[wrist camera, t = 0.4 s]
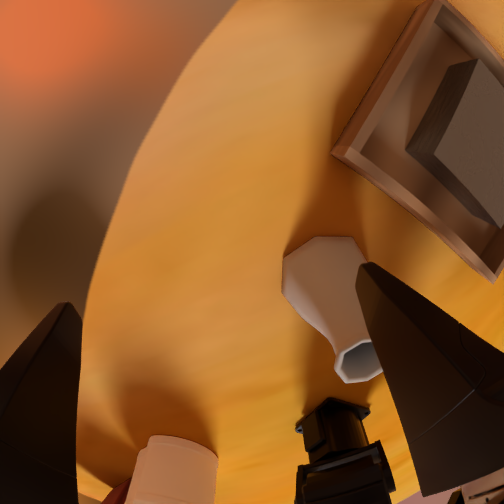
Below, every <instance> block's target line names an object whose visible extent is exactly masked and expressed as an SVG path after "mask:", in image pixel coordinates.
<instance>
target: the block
mask: <svg viewBox="0 0 504 504" xmlns="http://www.w3.org/2000/svg"><path fill="white" fill-rule="evenodd" d="M405 151H406V152H407V153H408V154H409V155H411V156H412V157H413V158H414V159H415V160H416V161H418V162H419V163H420V164H421V165H422V166H423V167H424V168H425V169H426V170H427V171H429V172H430V173H431V174H432V175H433V176H434V177H435V178H436V179H437V180H438V181H439V182H440V183H441V184H442V185H443V186H444V187H445V188H446V189H447V190H448V191H449V192H450V193H451V194H452V195H453V196H454V197H455V198H456V199H457V200H458V201H459V202H460V203H461V204H462V205H463V206H464V207H465V208H466V209H467V210H468V211H469V213H470V214H471V215H473V216H475V217H477V218H479V219H481V220H483V221H485V222H487V223H490V224H492V225H494V226H496V227H498V228H500V229H501V228H502V226H503V224H504V88H503V86H502V85H501V84H500V83H499V81H498V80H497V79H496V78H495V76H494V75H493V74H492V73H491V72H490V70H489V69H488V68H487V67H486V66H485V64H484V63H483V62H482V61H481V60H480V59H479V58H477V59H473V60H469V61H465V62H461V63H457V64H454V65H450V66H449V67H448V69H447V71H446V73H445V75H444V77H443V79H442V81H441V83H440V85H439V87H438V89H437V91H436V93H435V95H434V97H433V99H432V101H431V103H430V105H429V107H428V109H427V110H426V112H425V114H424V116H423V118H422V120H421V122H420V123H419V125H418V127H417V129H416V131H415V133H414V134H413V136H412V138H411V140H410V141H409V143H408V145H407V147H406V148H405Z"/></svg>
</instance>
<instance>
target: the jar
mask: <svg viewBox="0 0 504 504" xmlns="http://www.w3.org/2000/svg"><path fill="white" fill-rule="evenodd" d="M217 468H218V458H217V456H216V455H215V454H214V453H213V452H212V451H210V450H209V449H208V448H206V447H204V446H202V445H200V444H198V443H195V442H193V441H190V440H187V439H183V438H179V437H173V436H165V435H153V436H151V437H150V438H149V441H148V444H147V447H146V448H144V449H141V450H140V452H139V453H138V457H137V462H136V466H135V469H134V473H133V476H132V480H131V483H130V487H129V491H128V494H127V498H126V501H125V503H124V504H214V498H215V486H216V475H217Z"/></svg>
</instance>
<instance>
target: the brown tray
mask: <svg viewBox="0 0 504 504" xmlns="http://www.w3.org/2000/svg"><path fill="white" fill-rule="evenodd" d="M477 58H479V59H480V60H481V61H482V62H483V63H484V64H485V66H486V67H487V68H488V69H489V70H490V72H491V73H492V74H493V75H494V76H495V78H496V79H497V80H498V81H499V83H500V84H501V85H502V86H503V88H504V60H503V59H502V58H501V56H500V55H499V54H498V53H497V52H496V50H495V49H494V48H493V47H492V46H491V45H490V43H489V42H488V41H487V40H486V39H485V38H484V37H483V36H482V35H481V33H480V32H479V31H478V30H477V29H476V28H475V27H474V26H473V25H472V24H471V23H470V22H469V21H468V20H467V19H466V18H465V17H464V16H463V15H462V14H461V13H460V12H459V11H458V10H457V9H455V8H454V7H453V6H452V5H451V4H450V3H449V2H448V1H447V0H426V1H425V2H423V3H422V4H420V5H419V6H417V8H416V9H415V11H414V13H413V15H412V16H411V18H410V20H409V22H408V23H407V25H406V27H405V28H404V30H403V32H402V34H401V35H400V37H399V39H398V40H397V42H396V44H395V45H394V47H393V49H392V51H391V52H390V54H389V56H388V57H387V59H386V61H385V62H384V64H383V66H382V67H381V69H380V71H379V72H378V74H377V76H376V77H375V79H374V81H373V82H372V84H371V86H370V88H369V89H368V91H367V93H366V94H365V96H364V97H363V99H362V101H361V102H360V104H359V106H358V107H357V109H356V111H355V112H354V114H353V116H352V117H351V119H350V121H349V122H348V124H347V126H346V127H345V129H344V131H343V132H342V134H341V135H340V137H339V139H338V140H337V142H336V144H335V145H334V147H333V149H332V150H331V152H330V153H329V154H331V155H332V156H334V157H335V158H337V159H338V160H340V161H341V162H343V163H344V164H346V165H347V166H349V167H350V168H352V169H353V170H354V171H356V172H357V173H359V174H360V175H361V176H363V177H364V178H366V179H367V180H368V181H370V182H371V183H372V184H374V185H375V186H376V187H378V188H379V189H380V190H382V191H383V192H384V193H386V194H387V195H388V196H390V197H391V198H392V199H394V200H395V201H396V202H397V203H399V204H400V205H401V206H402V207H404V208H405V209H406V210H407V211H409V212H410V213H411V214H412V215H413V216H415V217H416V218H417V219H418V220H419V221H421V222H422V223H423V224H424V225H425V226H427V227H428V228H429V229H430V230H431V231H432V232H433V233H435V234H436V235H437V236H438V237H439V238H440V239H441V240H442V241H444V242H445V243H446V244H447V245H448V246H449V247H450V248H451V249H452V250H453V251H454V252H456V253H457V254H458V255H459V256H460V257H461V258H462V259H463V260H464V261H465V262H466V263H467V264H468V265H469V266H470V267H471V268H472V269H474V270H475V271H476V272H478V273H479V274H480V275H482V276H483V277H484V278H486V279H487V280H488V281H489V282H491V283H492V284H494V282H495V281H496V279H497V278H498V276H499V274H500V273H501V271H502V269H503V268H504V224H503V226H502V228H501V229H500V228H498V227H496V226H494V225H492V224H490V223H487V222H485V221H483V220H481V219H479V218H477V217H475V216H473V215H471V214H470V213H469V211H468V210H467V209H466V208H465V207H464V206H463V205H462V204H461V203H460V202H459V201H458V200H457V199H456V198H455V197H454V196H453V195H452V194H451V193H450V192H449V191H448V190H447V189H446V188H445V187H444V186H443V185H442V184H441V183H440V182H439V181H438V180H437V179H436V178H435V177H434V176H433V175H432V174H431V173H430V172H429V171H427V170H426V169H425V168H424V167H423V166H422V165H421V164H420V163H419V162H418V161H416V160H415V159H414V158H413V157H412V156H411V155H409V154H408V153H407V152H406V151H405V148H406V147H407V145H408V143H409V141H410V140H411V138H412V136H413V134H414V133H415V131H416V129H417V127H418V125H419V123H420V122H421V120H422V118H423V116H424V114H425V112H426V110H427V109H428V107H429V105H430V103H431V101H432V99H433V97H434V95H435V93H436V91H437V89H438V87H439V85H440V83H441V81H442V79H443V77H444V75H445V73H446V71H447V69H448V67H449V66H450V65H454V64H457V63H461V62H465V61H469V60H473V59H477Z"/></svg>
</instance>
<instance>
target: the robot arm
mask: <svg viewBox="0 0 504 504" xmlns="http://www.w3.org/2000/svg"><path fill="white" fill-rule="evenodd" d="M355 290H356V293H357V297H358V300H359V303H360V307H361V310H362V314H363V317H364V321H365V324H366V327H367V331H368V334H369V336H370V339H371V342H372V344H373V347H374V349H375V352H376V354H377V357H378V359H379V362H380V365H381V367H382V370H383V373H384V375H385V378H386V381H387V383H388V386H389V389H390V392H391V395H392V397H393V400H394V403H395V406H396V409H397V412H398V415H399V418H400V421H401V424H402V427H403V430H404V433H405V436H406V439H407V443H408V444H409V445H408V446H409V450H410V453H411V456H412V460H413V463H414V467H415V470H416V474H417V477H418V481H419V485H420V489H421V493H422V496H423V497H426V496H429V495H433V494H437V493H440V492H443V491H446V490H449V489H452V488H455V487H458V486H460V489H458V490H456V491H455V492H453V493H452V495H451V497H450V499H449V501H448V504H504V353H503V352H501V351H500V350H498V349H497V348H495V347H494V346H492V345H491V344H489V343H488V342H486V341H485V340H483V339H482V338H480V337H479V336H477V335H476V334H475V333H473V332H472V331H470V330H469V329H468V328H466V327H465V326H464V325H462V324H461V323H459V322H458V321H457V320H456V319H454V318H453V317H451V316H450V315H449V314H447V313H446V312H445V311H443V310H442V309H440V308H439V307H438V306H436V305H435V304H434V303H432V302H431V301H429V300H428V299H426V298H425V297H424V296H422V295H421V294H419V293H418V292H417V291H415V290H414V289H412V288H411V287H409V286H408V285H406V284H405V283H404V282H402V281H401V280H399V279H398V278H396V277H395V276H393V275H392V274H390V273H389V272H387V271H386V270H384V269H383V268H381V267H380V266H378V265H377V264H375V263H373V262H367V263H362V264H360V265H359V268H358V272H357V277H356V282H355ZM82 327H83V324H82V319H81V317H80V315H79V314H78V312H77V311H76V309H75V308H74V306H73V304H72V303H71V302H69V301H67V302H60V303H58V304H57V305H56V306H55V307H54V308H53V309H52V310H51V311H50V312H49V313H48V314H47V316H46V317H45V318H44V319H43V320H42V321H41V322H40V323H39V324H38V325H37V327H36V328H35V329H34V330H33V331H32V332H31V333H30V335H29V336H28V337H27V338H26V339H25V340H24V341H23V343H22V344H21V345H20V346H19V347H18V349H17V350H16V351H15V352H14V353H13V355H12V356H11V357H10V358H9V359H8V361H7V362H6V363H5V364H4V366H3V367H2V368H1V369H0V504H79V503H78V489H77V478H76V477H77V473H76V424H77V404H78V391H79V380H80V370H81V347H82ZM369 414H370V409H369V408H366V407H362V406H359V405H355V404H352V403H348V402H345V401H342V400H339V399H335V398H328V399H326V400H325V401H324V402H323V403H322V404H321V405H320V406H319V407H318V408H317V409H316V410H315V411H313V412H312V413H311V414H310V415H309V416H308V417H307V418H306V419H304V420H303V421H302V422H301V423H300V424H299V425H298V426H296V428H295V431H296V432H297V433H301V434H303V438H304V445H305V451H306V452H308V455H309V462H310V464H306V465H299V466H298V472H297V475H296V496H295V500H294V504H392V503H391V499H390V495H389V493H391V492H394V491H396V487H395V483H394V479H393V476H392V472H391V469H390V466H389V463H388V461H387V458H386V455H385V452H384V450H383V447H382V444H381V442H380V440H378V441H375V443H372V444H369V441H368V438H367V435H366V432H365V429H364V426H363V423H362V420H363V419H364V418H365V417H367V416H368V415H369Z"/></svg>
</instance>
